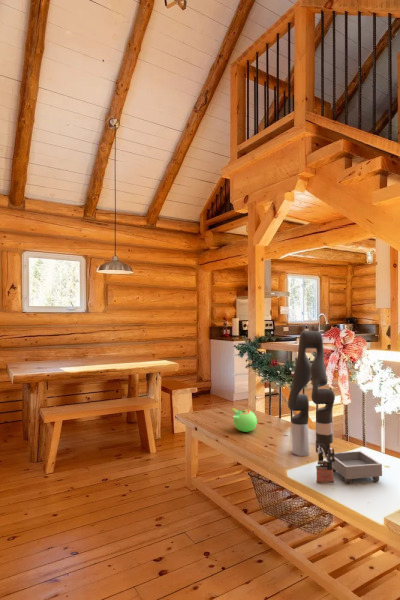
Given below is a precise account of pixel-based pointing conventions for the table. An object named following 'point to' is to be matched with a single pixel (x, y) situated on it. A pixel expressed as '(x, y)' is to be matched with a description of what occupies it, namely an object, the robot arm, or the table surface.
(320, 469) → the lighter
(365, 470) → the cart
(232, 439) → the table surface
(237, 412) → the green apple
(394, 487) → the table surface
